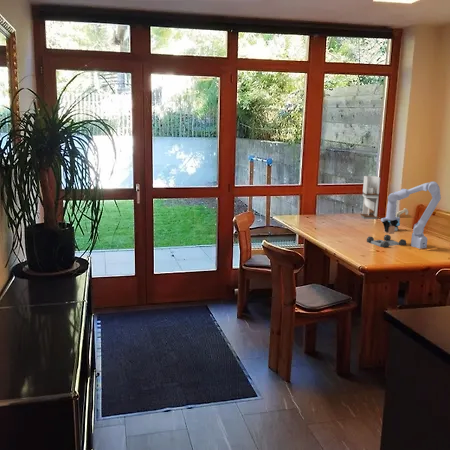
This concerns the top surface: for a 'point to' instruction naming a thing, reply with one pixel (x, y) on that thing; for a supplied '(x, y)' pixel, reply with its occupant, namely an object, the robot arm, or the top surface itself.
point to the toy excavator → (398, 216)
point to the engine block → (390, 229)
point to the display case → (370, 197)
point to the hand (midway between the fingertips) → (389, 231)
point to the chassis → (385, 243)
